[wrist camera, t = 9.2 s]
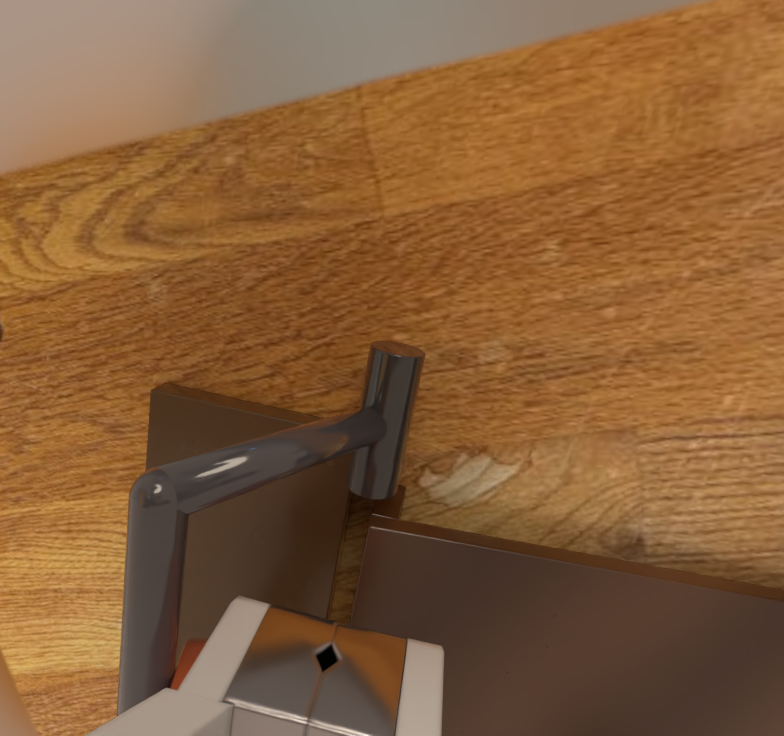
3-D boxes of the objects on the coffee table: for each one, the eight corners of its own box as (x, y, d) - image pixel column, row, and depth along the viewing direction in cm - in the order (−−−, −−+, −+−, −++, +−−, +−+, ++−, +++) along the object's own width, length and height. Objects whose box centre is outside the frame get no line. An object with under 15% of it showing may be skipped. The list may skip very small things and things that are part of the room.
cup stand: (144, 668, 24) (-73, 965, 14) (164, 382, 20) (-110, 519, 11) (312, 712, 24) (205, 1055, 14) (364, 426, 20) (270, 617, 10)
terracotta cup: (33, 1171, 11) (381, 1115, 12) (34, 486, 6) (566, 527, 8) (166, 698, 21) (346, 698, 22) (200, 313, 16) (419, 345, 18)
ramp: (1109, 648, 18) (1243, 734, 15) (971, 849, 21) (1062, 958, 18) (381, 479, 20) (366, 525, 17) (340, 683, 23) (321, 755, 20)
